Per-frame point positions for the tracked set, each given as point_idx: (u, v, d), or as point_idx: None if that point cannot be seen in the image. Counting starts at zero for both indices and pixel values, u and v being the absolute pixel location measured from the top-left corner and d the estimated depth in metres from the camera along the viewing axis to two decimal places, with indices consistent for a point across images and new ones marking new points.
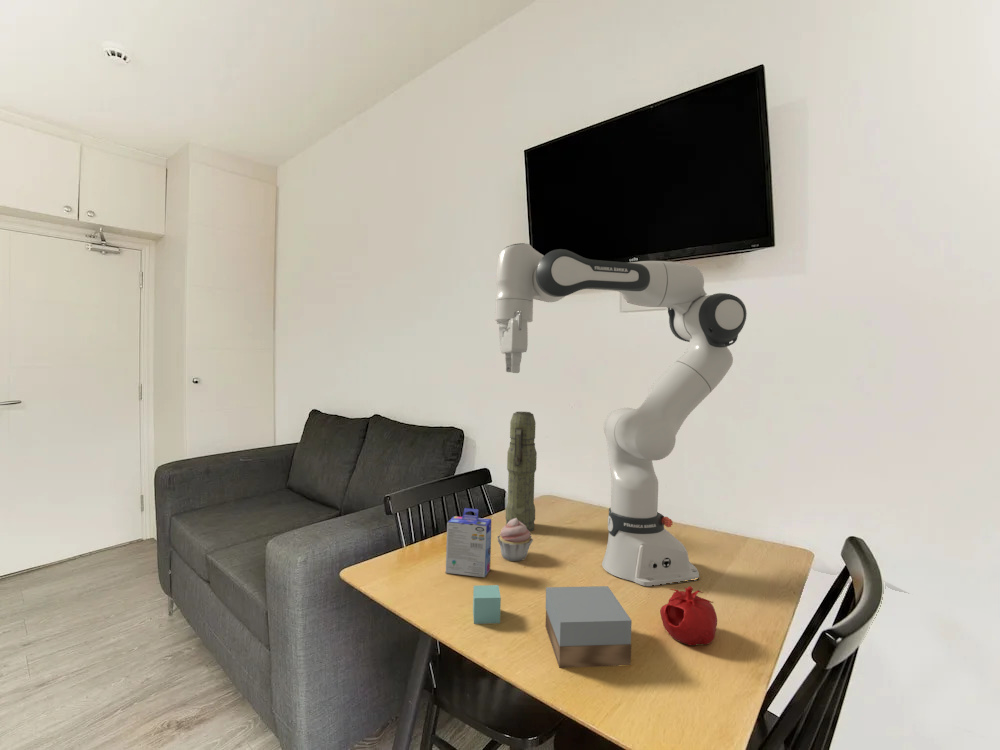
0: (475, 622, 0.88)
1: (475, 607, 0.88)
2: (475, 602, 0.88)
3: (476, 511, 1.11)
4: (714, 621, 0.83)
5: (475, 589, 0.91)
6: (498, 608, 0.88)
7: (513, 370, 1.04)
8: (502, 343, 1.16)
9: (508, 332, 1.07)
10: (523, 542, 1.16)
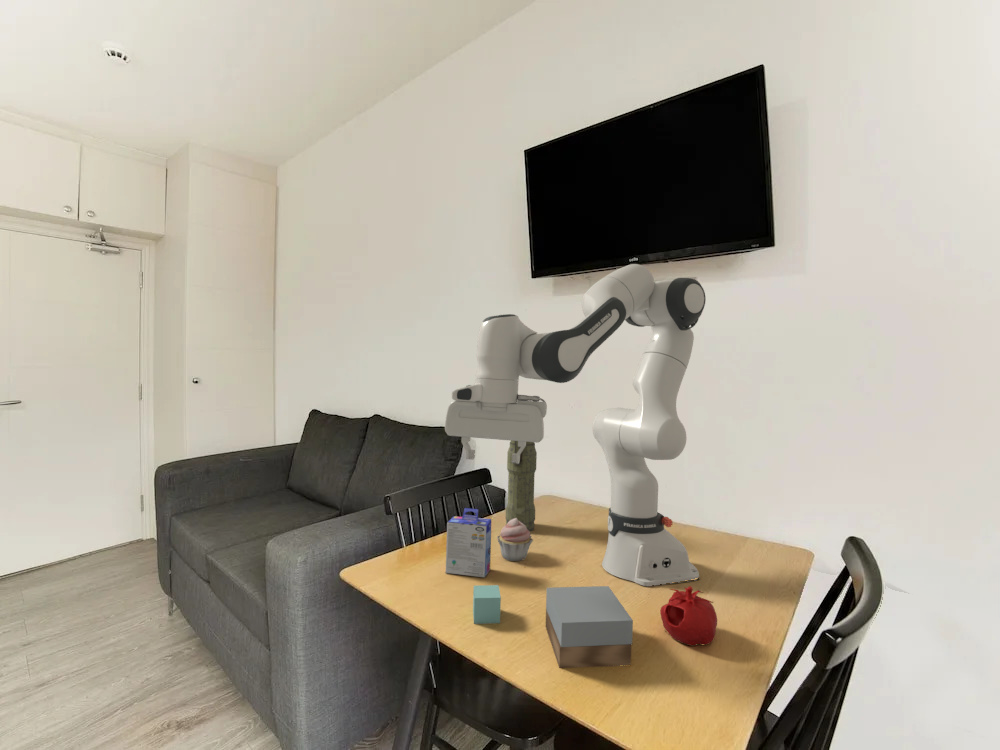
0: (475, 622, 0.88)
1: (475, 607, 0.88)
2: (475, 602, 0.88)
3: (476, 511, 1.11)
4: (714, 621, 0.83)
5: (475, 589, 0.91)
6: (498, 608, 0.88)
7: (518, 460, 0.93)
8: (462, 424, 0.94)
9: (506, 417, 0.93)
10: (523, 542, 1.16)
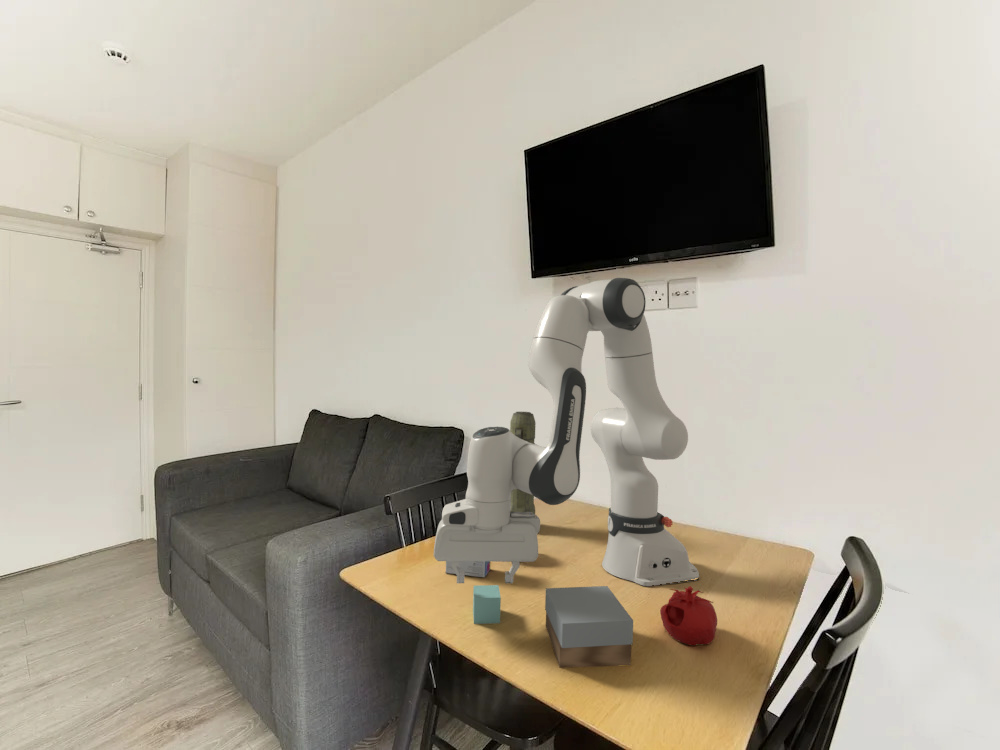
0: (475, 622, 0.88)
1: (475, 607, 0.88)
2: (475, 602, 0.88)
3: None
4: (714, 621, 0.83)
5: (475, 589, 0.91)
6: (498, 608, 0.88)
7: None
8: (453, 549, 0.88)
9: (500, 537, 0.89)
10: None
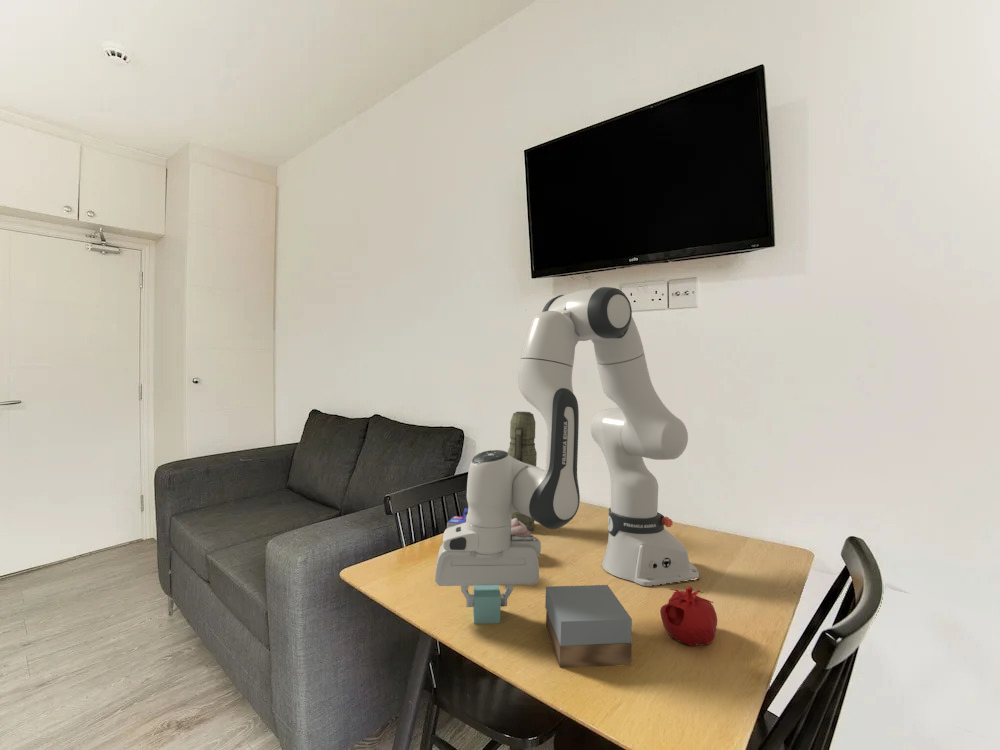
0: (475, 621, 0.88)
1: (475, 606, 0.88)
2: (475, 601, 0.88)
3: None
4: (714, 621, 0.83)
5: (475, 588, 0.91)
6: (498, 607, 0.88)
7: None
8: (455, 574, 0.88)
9: (501, 561, 0.89)
10: None
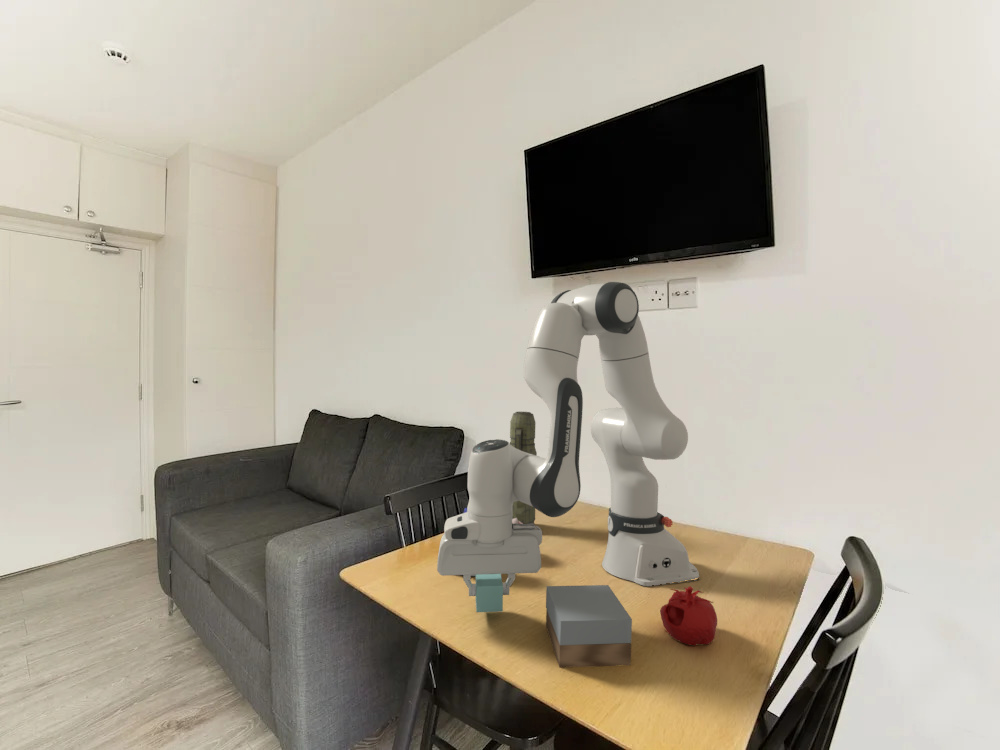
0: (478, 610, 0.88)
1: (477, 595, 0.88)
2: (477, 590, 0.88)
3: None
4: (714, 621, 0.83)
5: (477, 578, 0.92)
6: (500, 596, 0.89)
7: None
8: (456, 563, 0.88)
9: (503, 550, 0.89)
10: None
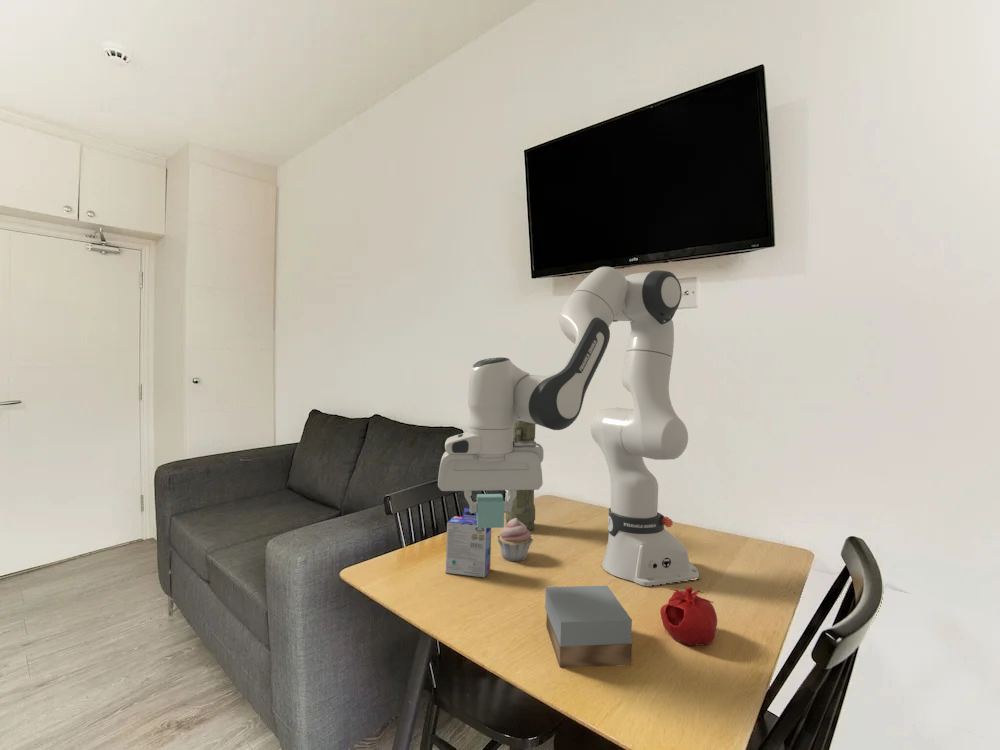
0: (479, 526, 0.88)
1: (479, 511, 0.88)
2: (479, 506, 0.88)
3: None
4: (714, 621, 0.83)
5: (478, 496, 0.91)
6: (502, 512, 0.88)
7: None
8: (457, 478, 0.88)
9: (504, 466, 0.89)
10: (523, 542, 1.16)
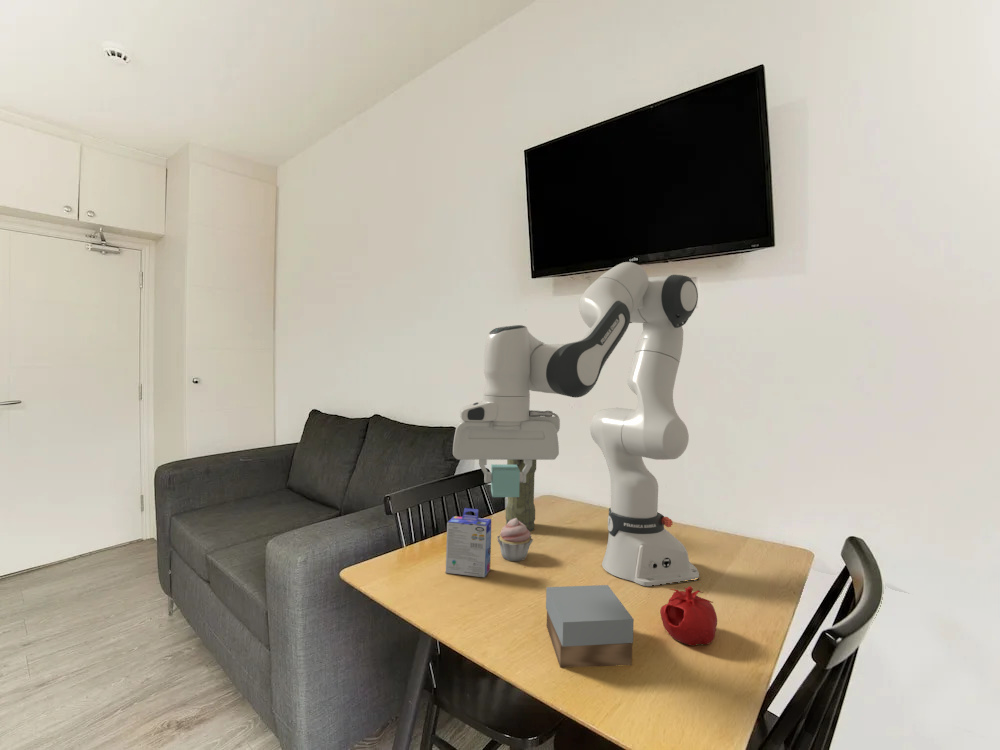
0: (494, 495, 0.86)
1: (494, 480, 0.86)
2: (494, 474, 0.86)
3: (476, 511, 1.11)
4: (714, 621, 0.83)
5: (493, 466, 0.90)
6: (517, 481, 0.87)
7: None
8: (473, 447, 0.87)
9: (520, 435, 0.87)
10: (523, 542, 1.16)
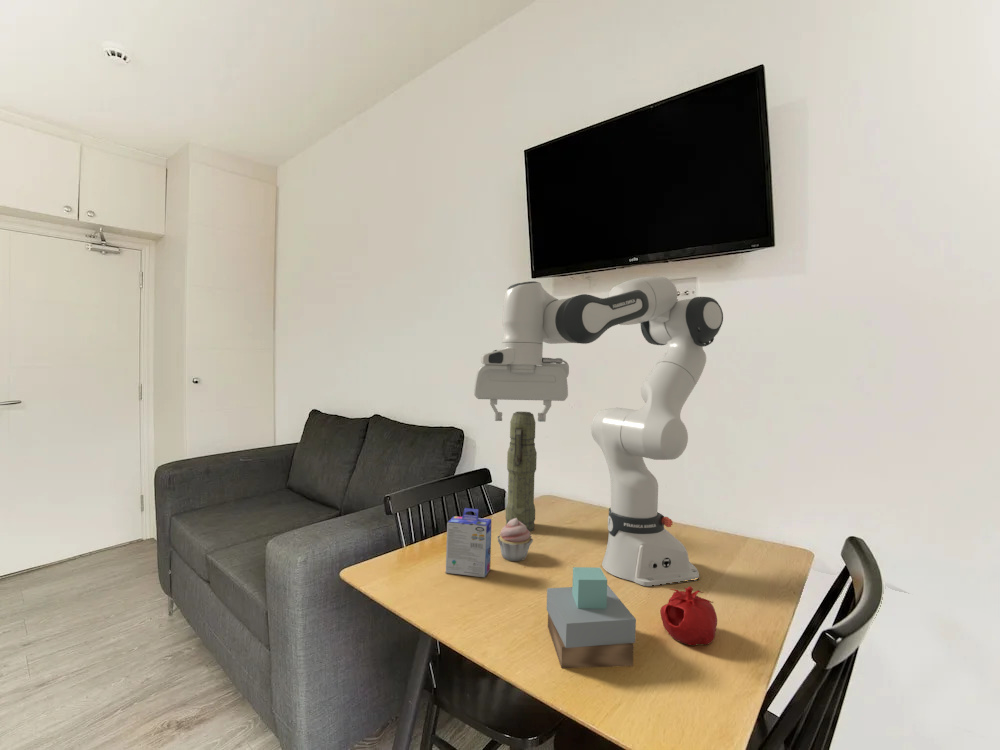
0: (579, 606, 0.80)
1: (579, 590, 0.80)
2: (579, 584, 0.80)
3: (476, 511, 1.11)
4: (714, 621, 0.83)
5: (576, 571, 0.84)
6: (604, 592, 0.80)
7: None
8: (492, 388, 0.98)
9: (534, 378, 0.99)
10: (523, 542, 1.16)
